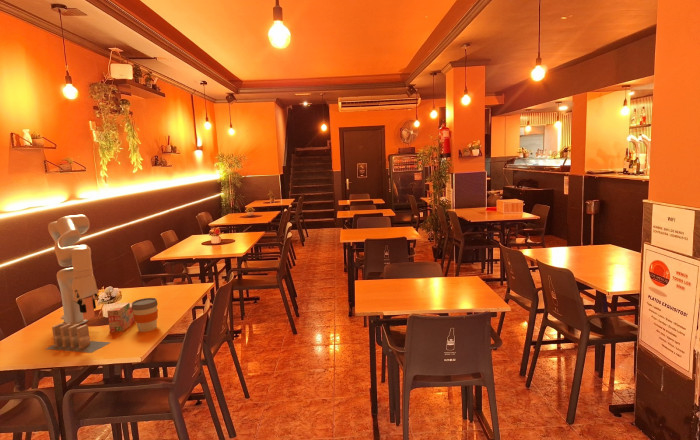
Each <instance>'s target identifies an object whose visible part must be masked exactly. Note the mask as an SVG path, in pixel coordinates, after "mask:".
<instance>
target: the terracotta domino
mask: <svg viewBox="0 0 700 440" xmlns="http://www.w3.org/2000/svg"><path fill="white" fill-rule="evenodd" d="M81 301H82V299H81ZM84 304H85V305H86V311H87V312H86V313H83V318H84V320H87V319H88V320H89V319H92V318H95V317H96V313H95V309H94V307H93V299H92V296H89V297H86V298H85V302H84Z"/></svg>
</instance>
